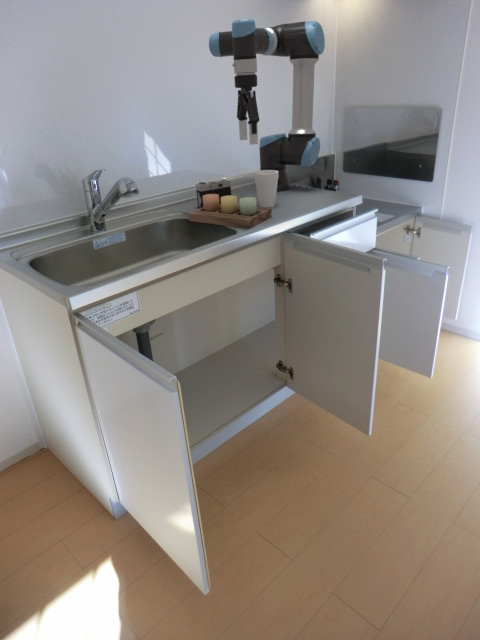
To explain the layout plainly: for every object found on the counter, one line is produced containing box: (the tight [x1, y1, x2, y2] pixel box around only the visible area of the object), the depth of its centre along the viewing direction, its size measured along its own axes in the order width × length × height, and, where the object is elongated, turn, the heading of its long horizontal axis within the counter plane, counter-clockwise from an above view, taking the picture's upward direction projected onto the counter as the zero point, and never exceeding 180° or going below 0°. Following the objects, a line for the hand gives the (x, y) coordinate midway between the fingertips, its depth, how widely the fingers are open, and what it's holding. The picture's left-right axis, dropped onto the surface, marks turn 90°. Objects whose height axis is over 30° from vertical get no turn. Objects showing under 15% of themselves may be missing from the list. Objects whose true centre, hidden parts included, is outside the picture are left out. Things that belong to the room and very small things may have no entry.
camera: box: [195, 178, 232, 209], centre depth 197 cm, size 14×8×10 cm, turn 120°
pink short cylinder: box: [203, 194, 220, 211], centre depth 179 cm, size 6×6×5 cm
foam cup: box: [253, 170, 279, 208], centre depth 191 cm, size 10×9×13 cm
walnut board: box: [188, 204, 273, 229], centre depth 177 cm, size 16×26×3 cm, turn 58°
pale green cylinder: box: [238, 196, 258, 215], centre depth 172 cm, size 6×6×5 cm
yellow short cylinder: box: [221, 194, 239, 213], centre depth 176 cm, size 6×6×5 cm
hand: (248, 142), depth 169 cm, fingers open, 13 cm apart
